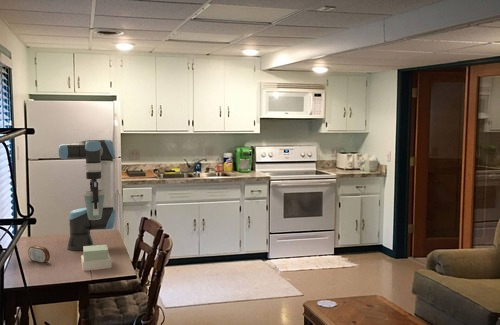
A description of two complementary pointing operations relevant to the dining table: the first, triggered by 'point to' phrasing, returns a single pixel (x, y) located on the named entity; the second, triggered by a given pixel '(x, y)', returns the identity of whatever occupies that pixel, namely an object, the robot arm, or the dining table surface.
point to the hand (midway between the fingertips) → (94, 213)
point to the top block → (95, 252)
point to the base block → (96, 264)
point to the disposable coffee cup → (89, 204)
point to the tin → (39, 254)
